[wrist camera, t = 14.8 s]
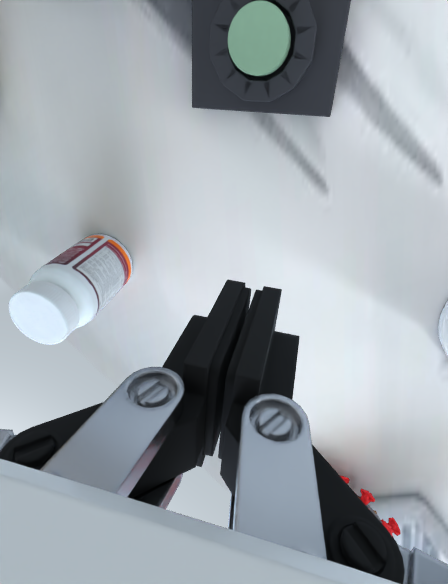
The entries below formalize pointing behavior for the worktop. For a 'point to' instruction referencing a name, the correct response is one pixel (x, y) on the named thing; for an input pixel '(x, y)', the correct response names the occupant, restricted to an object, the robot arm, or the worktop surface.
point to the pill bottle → (71, 289)
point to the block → (288, 77)
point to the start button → (259, 38)
